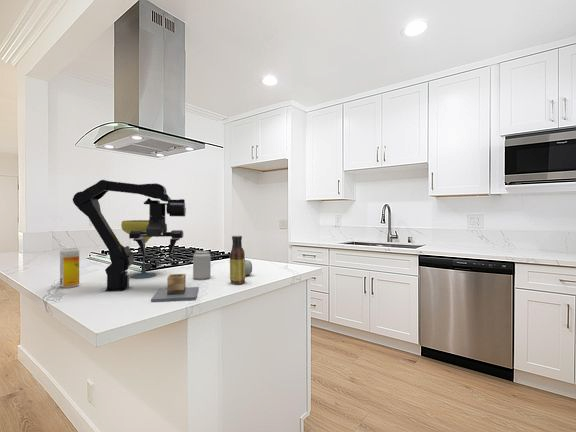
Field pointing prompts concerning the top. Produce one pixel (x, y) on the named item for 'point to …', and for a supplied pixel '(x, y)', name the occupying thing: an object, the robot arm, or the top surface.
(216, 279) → the top surface
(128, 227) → the cocktail glass
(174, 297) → the pin board
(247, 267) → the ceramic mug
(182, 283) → the oak sleeve
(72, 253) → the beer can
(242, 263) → the sauce bottle
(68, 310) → the top surface
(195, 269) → the can
